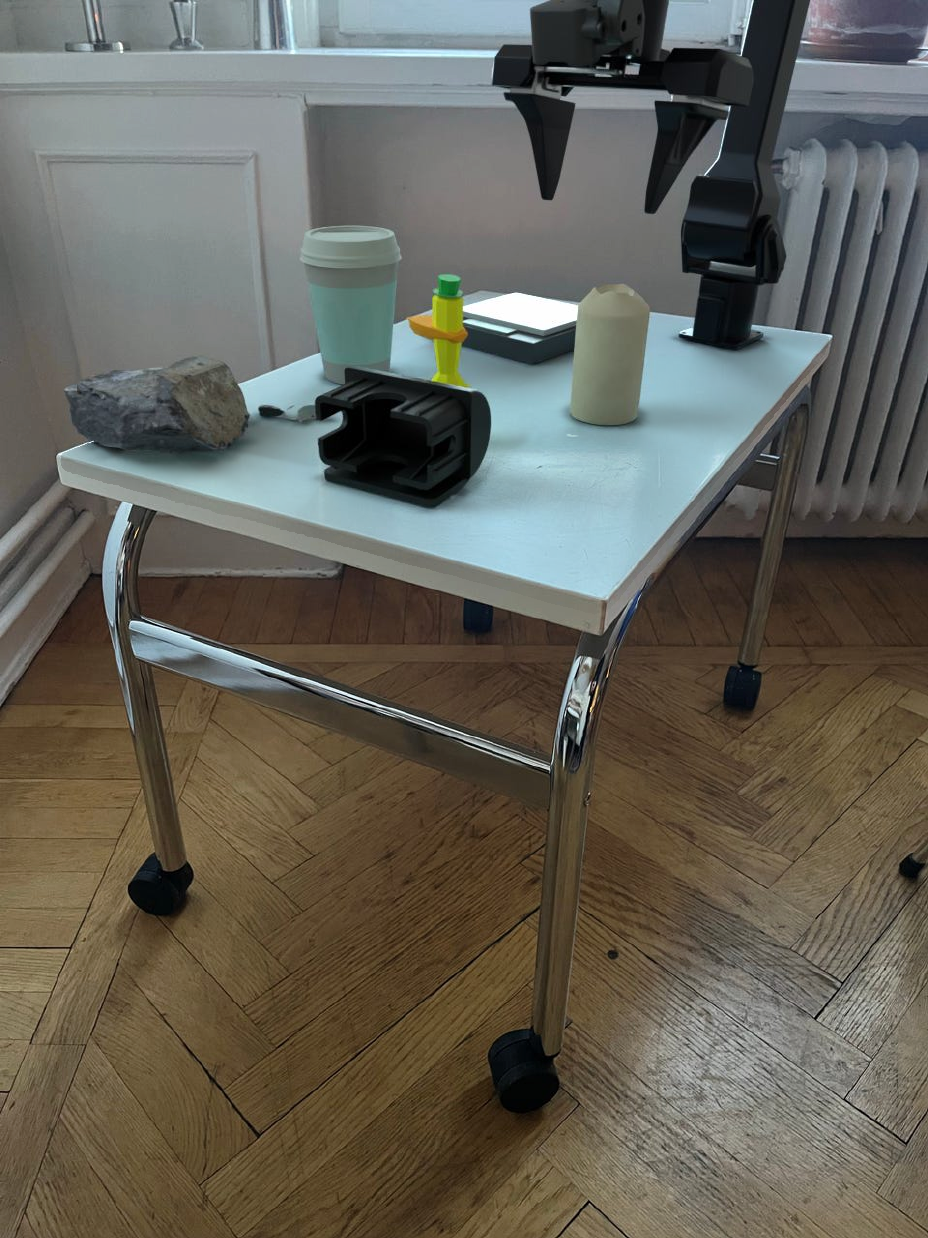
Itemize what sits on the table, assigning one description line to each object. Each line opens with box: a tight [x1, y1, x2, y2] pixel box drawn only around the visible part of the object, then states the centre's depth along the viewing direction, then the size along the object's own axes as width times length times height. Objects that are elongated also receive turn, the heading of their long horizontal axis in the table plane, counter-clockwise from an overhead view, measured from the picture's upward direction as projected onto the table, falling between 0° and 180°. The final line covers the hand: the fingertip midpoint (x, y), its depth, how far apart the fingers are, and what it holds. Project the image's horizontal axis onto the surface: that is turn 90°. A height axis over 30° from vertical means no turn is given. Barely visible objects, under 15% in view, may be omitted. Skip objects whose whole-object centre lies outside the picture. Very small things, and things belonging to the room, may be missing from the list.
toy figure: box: [406, 273, 473, 389], centre depth 66 cm, size 7×4×12 cm, turn 43°
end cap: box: [314, 366, 492, 509], centre depth 62 cm, size 10×7×7 cm
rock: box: [63, 355, 251, 455], centre depth 67 cm, size 14×11×5 cm
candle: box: [569, 283, 651, 426], centre depth 72 cm, size 6×6×10 cm
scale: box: [461, 292, 578, 365], centre depth 93 cm, size 13×13×3 cm
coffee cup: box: [299, 225, 403, 385], centre depth 79 cm, size 8×8×12 cm
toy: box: [257, 404, 316, 424], centre depth 72 cm, size 1×8×2 cm
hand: (596, 206), depth 69 cm, fingers open, 9 cm apart
